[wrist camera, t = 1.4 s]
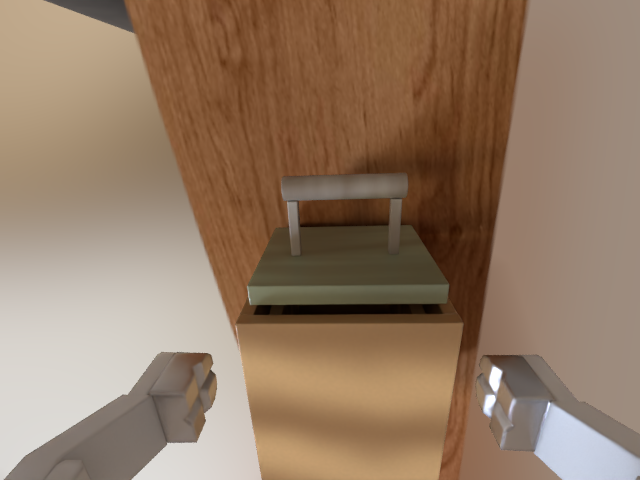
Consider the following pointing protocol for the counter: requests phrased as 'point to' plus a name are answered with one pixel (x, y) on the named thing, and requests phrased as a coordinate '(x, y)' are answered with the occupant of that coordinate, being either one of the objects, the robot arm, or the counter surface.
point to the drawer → (346, 256)
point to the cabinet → (349, 392)
